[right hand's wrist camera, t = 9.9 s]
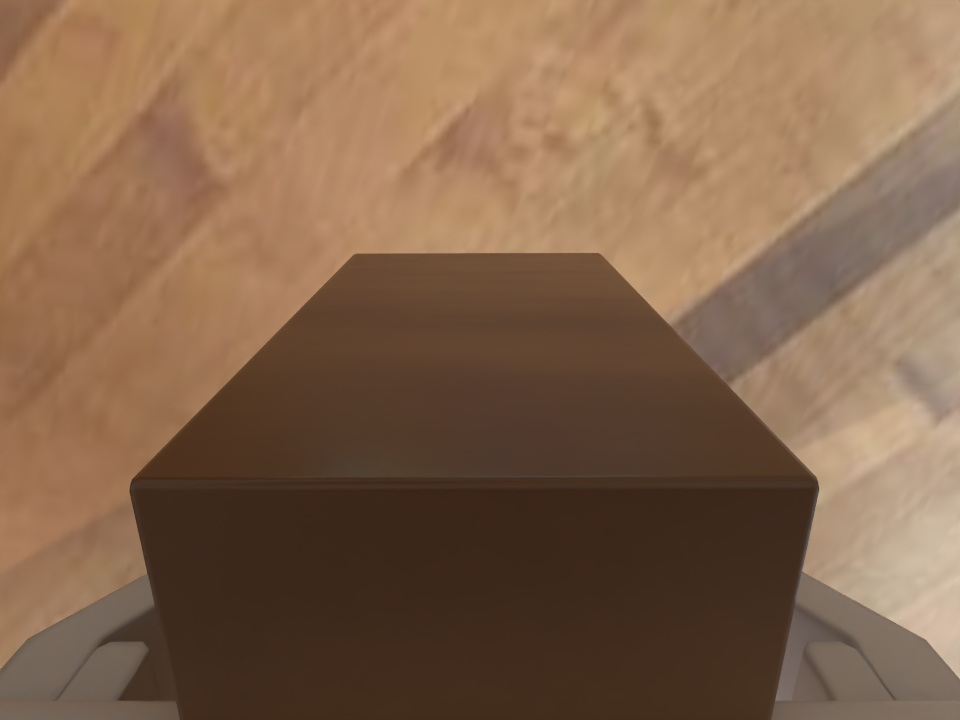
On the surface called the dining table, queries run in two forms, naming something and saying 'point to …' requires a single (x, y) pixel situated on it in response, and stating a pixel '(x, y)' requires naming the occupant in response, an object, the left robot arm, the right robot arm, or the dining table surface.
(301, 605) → the bar
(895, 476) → the dining table surface
